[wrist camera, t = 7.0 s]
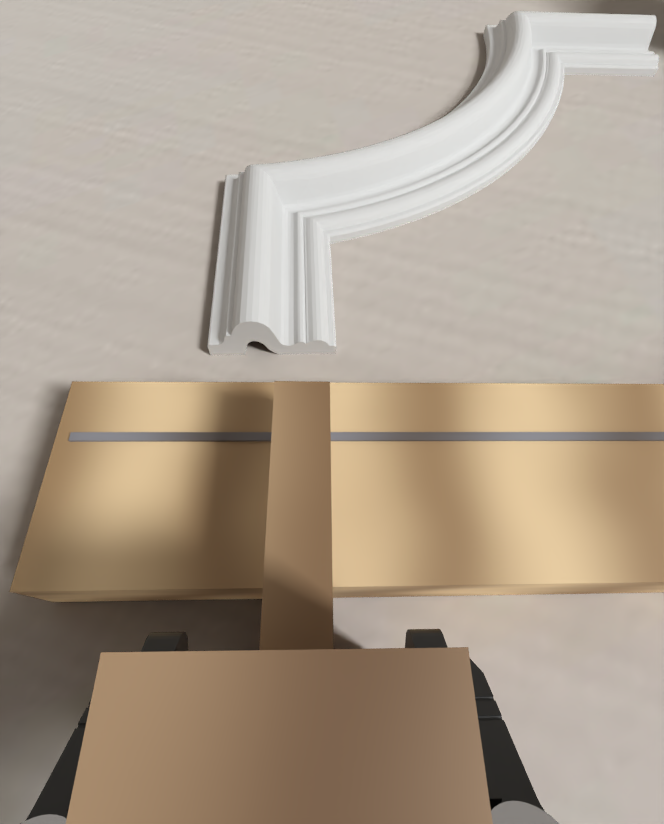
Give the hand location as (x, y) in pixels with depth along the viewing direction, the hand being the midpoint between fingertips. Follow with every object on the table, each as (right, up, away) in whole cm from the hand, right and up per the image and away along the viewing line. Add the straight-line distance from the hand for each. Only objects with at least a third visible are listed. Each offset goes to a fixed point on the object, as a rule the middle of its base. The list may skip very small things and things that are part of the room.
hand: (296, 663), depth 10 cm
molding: (+10, +21, +18) cm, 30 cm away
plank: (+4, +2, +7) cm, 8 cm away
